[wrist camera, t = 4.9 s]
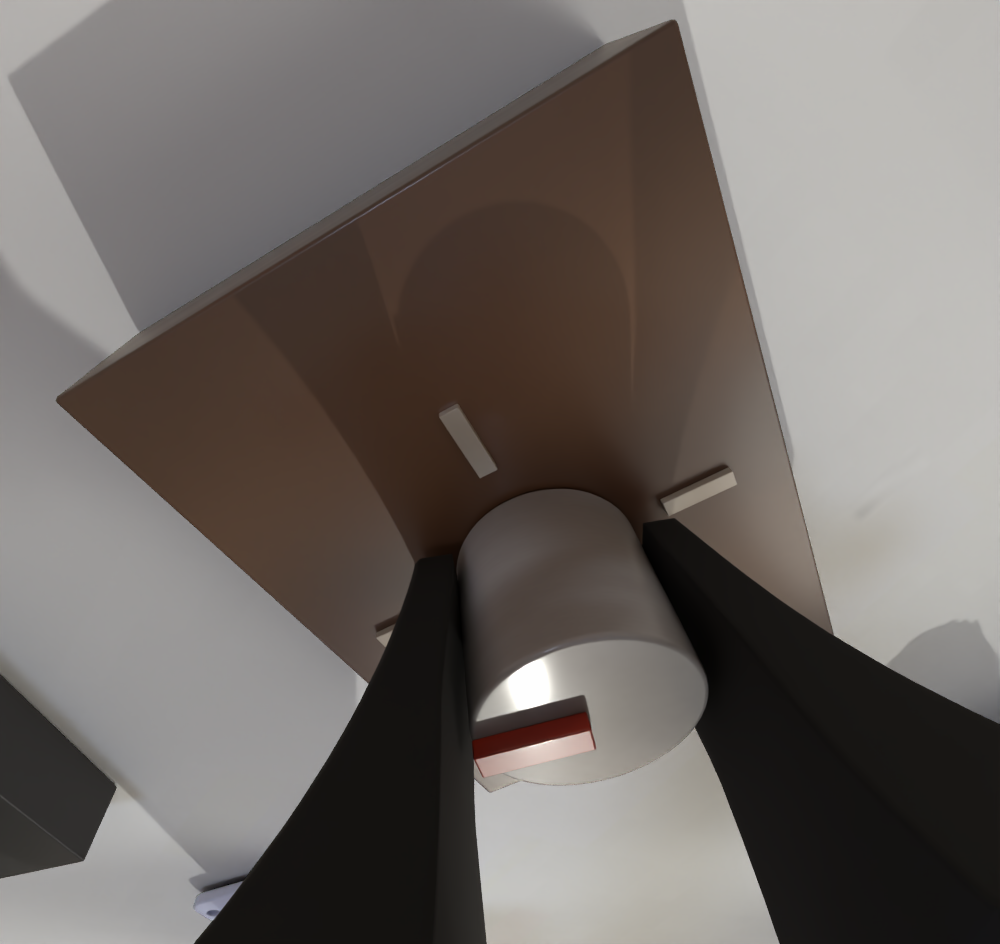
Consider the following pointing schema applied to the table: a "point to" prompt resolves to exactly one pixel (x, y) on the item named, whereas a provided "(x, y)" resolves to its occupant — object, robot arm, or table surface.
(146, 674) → the table surface
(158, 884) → the table surface
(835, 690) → the robot arm
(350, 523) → the dial panel
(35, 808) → the button base
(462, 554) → the dial
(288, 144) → the table surface
